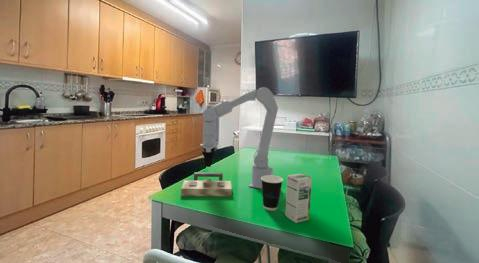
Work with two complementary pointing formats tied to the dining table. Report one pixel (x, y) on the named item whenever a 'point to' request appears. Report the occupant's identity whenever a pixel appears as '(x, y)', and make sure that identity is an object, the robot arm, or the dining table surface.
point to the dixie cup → (271, 191)
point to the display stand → (206, 188)
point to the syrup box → (298, 197)
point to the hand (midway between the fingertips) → (208, 164)
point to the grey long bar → (207, 175)
